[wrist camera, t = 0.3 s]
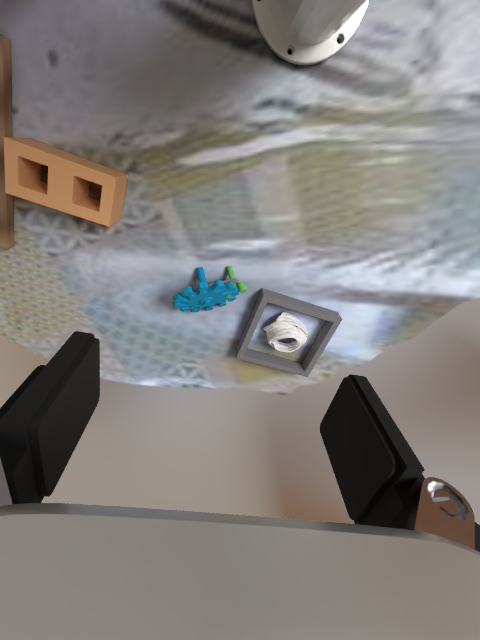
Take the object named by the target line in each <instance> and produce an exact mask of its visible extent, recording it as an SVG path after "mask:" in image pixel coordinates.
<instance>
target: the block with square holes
mask: <svg viewBox="0 0 480 640" xmlns="http://www.w3.org/2000/svg"><path fill="white" fill-rule="evenodd" d="M42 164H43V165H46V166H48V183H45V182H42V181H41V169H42ZM4 165H5V193H7V194H10V195H13V196H16V197H20V198H23V199H26V200H29V201H32V202H35V203H38V204H41V205H44V206H47V207H50V208H53V209H56V210H59V211H62V212H65V213H68V214H71V215H75V216H78V217H81V218H84V219H87V220H90V221H93V222H96V223H99V224H102V225H105V226H108V227H110V226H111V225H113V224H114V223H116V222H117V221H119V220H121V218H122V212H123V205H124V199H125V193H126V186H127V180H128V174H125V173H123V172H120V171H117V170H115V169H112V168H109V167H106V166H104V165H101V164H98V163H95V162H93V161H90V160H87V159H85V158H82V157H79V156H76V155H74V154H71V153H68V152H65V151H63V150H60V149H57V148H55V147H52V146H49V145H46V144H44V143H41V142H38V141H35V140H33V139H29V138H13V137H4ZM90 181H91V182H94V183H97V184H99V185H102V192H101V201H98V200H95V199H92V198H89V187H90Z"/></svg>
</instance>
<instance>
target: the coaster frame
mask: <svg viewBox="0 0 480 640" xmlns="http://www.w3.org/2000/svg"><path fill="white" fill-rule="evenodd" d="M267 302H269V303H272V304H275V305H279V306H282V307H285V308H288V309H291V310H295V311H298V312H301V313H304V314H308V315H311V316H314V317H317V318H321V319H324V320H326V322H325V324H324V326H323V327H322V329H321V331H320V333H319V334H318V336H317V338H316V340H315V341H314V343H313V345H312V347H311V348H310V350H309V352H308V354H307V355H306V357H305V359H304V360H303V362H302V363H299V362H296V361H292V360H288V359H285V358H281V357H277V356H274V355H270V354H266V353H262V352H259V351H255V350H251V349H248V348H247V347H248V344H249V342H250V340H251V338H252V335H253V333H254V331H255V329H256V327H257V324H258V322H259V320H260V318H261V315H262V313H263V311H264V309H265V306H266V304H267ZM341 321H342V318H341V317H340V315H339V314H338V312H335V311H332V310H329V309H326V308H323V307H320V306H316V305H313V304H310V303H307V302H304V301H301V300H298V299H294V298H291V297H288V296H285V295H282V294H279V293H276V292H272V291H269V290H266V289H263V288H262V290H261V292H260V295H259V297H258V299H257V302H256V304H255V306H254V309H253V311H252V313H251V316H250V318H249V320H248V323H247V325H246V328H245V330H244V332H243V335H242V337H241V339H240V342H239V344H238V346H237V349H236V358H237V359H240V360H244V361H248V362H252V363H256V364H260V365H263V366H267V367H271V368H275V369H279V370H283V371H286V372H290V373H294V374H298V375H302V376H305V377H308V375H309V374H310V372H311V370H312V369H313V367H314V365H315V364H316V362H317V360H318V359H319V357H320V355H321V354H322V352H323V350H324V349H325V347H326V345H327V344H328V342H329V340H330V339H331V337H332V335H333V334H334V332H335V330H336V329H337V327H338V326H339V324H340V322H341Z"/></svg>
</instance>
